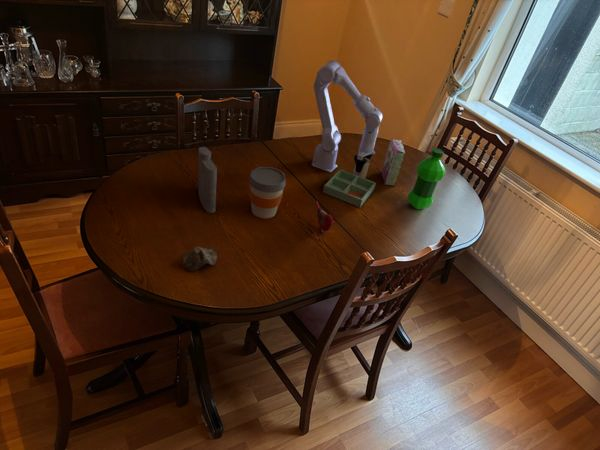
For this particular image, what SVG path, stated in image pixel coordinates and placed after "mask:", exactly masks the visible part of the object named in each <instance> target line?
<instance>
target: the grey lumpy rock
mask: <svg viewBox="0 0 600 450" xmlns="http://www.w3.org/2000/svg"><path fill="white" fill-rule="evenodd" d="M182 257H183V258H182V265H183V267H184V268H186V270H188V271H190V272H197V271H199V270H200V269H201V268H203V266H208V267H213V266H214V265H216V264H217V260H218V255H217V252H216V251H215V250H214V249H213V248H212V246H205V247H204V246H203V247H201V246H195V247H193V249H192V250H190V251H188V252H185V253H183V254H182Z"/></svg>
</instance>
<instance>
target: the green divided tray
mask: <svg viewBox="0 0 600 450" xmlns="http://www.w3.org/2000/svg"><path fill="white" fill-rule="evenodd" d="M376 184H377V182H374V181H372V180H369V179H367V178H365V179H364V178H362V177H359V176H357V175H354V174H353V173H351V172H349V171H347V170H343V169H341V168H340V169H339V170H338V171H337V172H336V173H335V174H334V175H333V176H332V177H331V178H330V179H329V180H328V181H327V182H326V183H324V186H323V191H322V193H323V194H326V195H328V196H331V197H333V198H336V199H338V200H341V201H342V202H346V203H348V204H350V205H353V206H356V207H358V208H362V206H363V204H364V203H365V202H366V201H367V199H368V198H369V197H370V196H371V195H372V193H373V192H374V191H375V187H376Z"/></svg>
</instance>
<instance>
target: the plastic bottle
mask: <svg viewBox="0 0 600 450" xmlns="http://www.w3.org/2000/svg"><path fill="white" fill-rule="evenodd" d="M444 153H445V151H444V150H443V149H441V148H438V147H434V148H432V150H431V153H430V155H431V156H430V157H427V158H424V159H422V160H421V161H420V162H419V164H418V165H417V167H416V173H417V176H416V177H417V178H416V181H415V183H414V186H413V188H412V190H411V191H410V192H409V193H408V196H407V197H408V198H407V199H408V202H409V203H410V205H411V206H412V208H414V209H416V210H424V209H428V208H430V207H431V205H432V204H433V202H434V193H435V190H436V187H437V185H438V183H439V182H440V181H442V179H443V178H444V176H445V174H446V167H445V165H444V164H443V162H442V160H441V158H443V156H444Z"/></svg>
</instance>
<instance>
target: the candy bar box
mask: <svg viewBox="0 0 600 450" xmlns="http://www.w3.org/2000/svg"><path fill="white" fill-rule="evenodd" d="M404 147H405V146H404V144H403V141H402V140H400V139H399V140H398V139H393V138H391V139H390V140H389V144H388V148H387V152H386V156H385V158H384V162H383V165H382V169H381V175H382V179H383V183H384V186H391V187H392V186H393V187H395V186H396V184H397V180H398V178H399V174H400V170H401V169H402V164H403V161H404V158H405V155H406V151H405V148H404Z"/></svg>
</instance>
